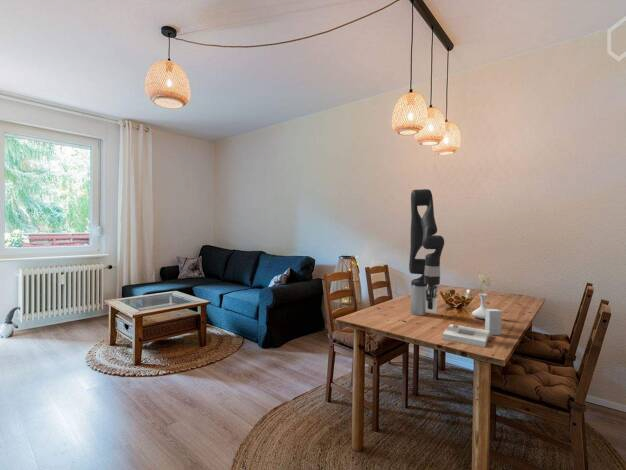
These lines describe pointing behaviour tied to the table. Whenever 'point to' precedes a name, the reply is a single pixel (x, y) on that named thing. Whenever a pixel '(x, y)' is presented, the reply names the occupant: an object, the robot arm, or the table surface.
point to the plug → (433, 305)
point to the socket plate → (466, 335)
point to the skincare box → (493, 321)
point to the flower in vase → (482, 299)
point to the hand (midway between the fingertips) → (431, 307)
